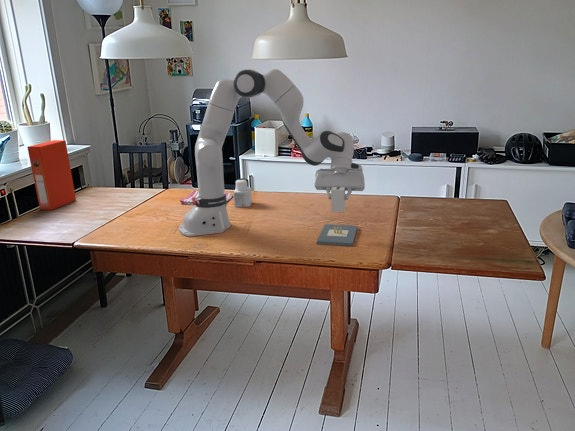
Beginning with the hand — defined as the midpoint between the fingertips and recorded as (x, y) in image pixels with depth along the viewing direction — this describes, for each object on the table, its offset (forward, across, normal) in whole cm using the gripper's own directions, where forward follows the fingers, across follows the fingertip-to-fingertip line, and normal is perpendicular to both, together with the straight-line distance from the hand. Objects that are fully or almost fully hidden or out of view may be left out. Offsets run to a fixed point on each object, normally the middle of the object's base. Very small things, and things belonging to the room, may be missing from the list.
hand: (338, 199), depth 202 cm
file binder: (-6, -149, +27) cm, 151 cm away
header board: (+11, 0, +12) cm, 16 cm away
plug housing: (+3, 0, +4) cm, 5 cm away
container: (-14, -52, +37) cm, 66 cm away
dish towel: (-18, -74, +40) cm, 86 cm away
